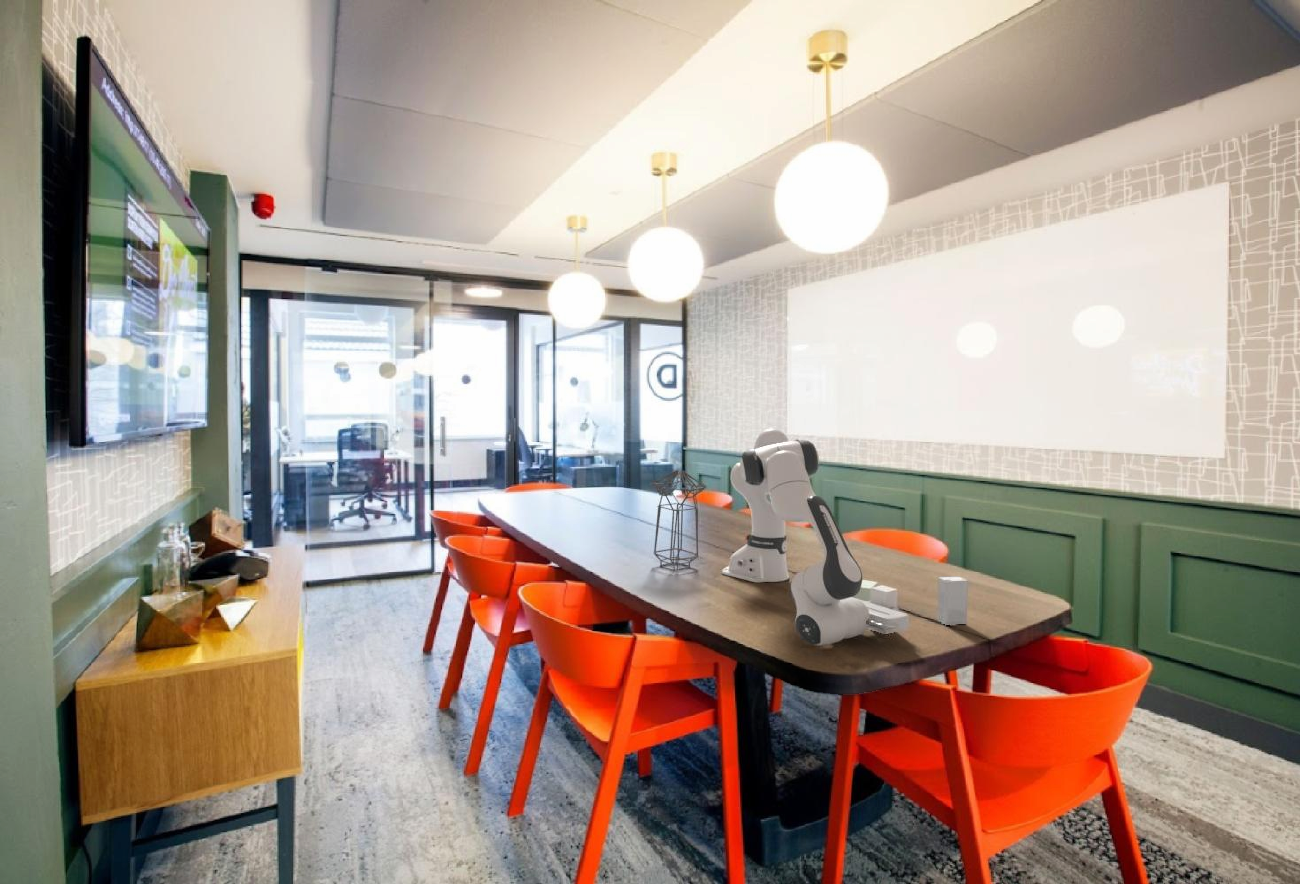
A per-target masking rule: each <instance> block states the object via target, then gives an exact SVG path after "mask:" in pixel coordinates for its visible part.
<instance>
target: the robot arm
mask: <svg viewBox="0 0 1300 884" xmlns="http://www.w3.org/2000/svg"><path fill="white" fill-rule="evenodd" d="M819 465H820V457H819V452H818V450H817V448H816V446H815V445H814V443H812V442H811V441H809V440H804V439H803V440H802V439H798V438H797V439H795V440H791V441H789V439H788V437H787V435H786V434H785V433H784V432H783V431H782V430H780V429H778V428H768V429H766V430H763V431H762V432H761V433H759V434H758V436H757V438H756V441H755V442H754V446H753V448H750V449H747V450H746V451H744V452H742V454H741V456H740V461H739V462H736V463H735V464H734V466H733V467H732V468H731V472H730V483H731V486H732V487H733V488H734V490H735V491H736V492H738V493H739V494H740V495H741V496H742V497H743V498H744V499H745V501H746V502H747V504H748V507H749V510H750V517H751V533H749V534H748V535H746V536H744V538H745V539H744V540H745V541H746V544H745V545H743V546H742V547H741V548H739V549H737V550H736V551H735V552H734V553H732V555H731V556H730V558H729V562H728V566H726V567H724V568H723V569H722V572H721V574H723V575H725V576H728V577H733V578H737V579H741V580H745V581H749V582H753V583H766V582H768V583H769V582H770V583H775V582H776V583H777V582H784V581H787V580H788V579H790V574H789V571H788V570H789V569H788V564H787V557H786V556H787V555H786V552H787V545H788V544H787V542H788V541H787V535H786V522H787V523H794V524H810V525H811V526H812V528H813V530H814V533H815V535H816V538H817V539H818V542H819V545H820V547H821V549H822V552H823V557H822V559H821V561H819V562H817V563H815V564H813V565H811V566H808V567H806V568H805V569H802V570H801V571H799V572H796V573H795V574H794V575H793V576H792V578H791V580H790V594H791V598H792V600H793V602H794V605H795V607H796V614H795V615H796V616H795V620H794V627H795V630H796V632H797V634H798V636H799V637H800V638H801V639H802V640H803V641H804V642H805V643H807V644H810V645H813V646H826V645H831V644H834V643H839V642H841V641H842V640H844V639H851V638H854V637H857V636H861V635H864V634H865V633H866V632H868V631H869V629H870V627H871V628H874V629H877V630H880V631H883V632H887V633H892V634H894V632H895V633H899V632H905V631H907V630H909V628H910V617H909V615H908V613H905V612H902V611H900V608H899V607H897V608H896V607H890V609H889V608H886V607H883V606H879V605H876V604H873V603H871V601H863V600H860V599H856V598H853V596H855V595H857V594H858V592H859V591H860V588H861V585H862V580H863V573H862V570H861V567H860V566H859V563H858V562H857V561H856V559H855V558H854V556H853V555H852V553H851V551H850V549H849V548H848V547H849V546H848V545H847V542H846V540H845V538H844V536H843V534H842V532H841V529H840V527H839V525H838V522H837V521H836V519H835V518H836V517H834V514H833V512H832V510H831V508H830V507H829V505H828V503H827V502H826V501H825V500H824V498H822V497H821V496H819V495H816V494H815V492H814V490H813V486H812V483H811V480H810V477H811V476H813V475H815V474H817V471H818V470H819ZM768 495H769V499H770V501H769V500H768V498H767V496H768Z"/></svg>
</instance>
